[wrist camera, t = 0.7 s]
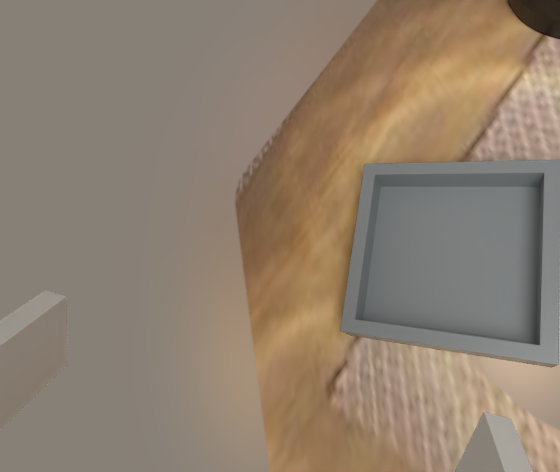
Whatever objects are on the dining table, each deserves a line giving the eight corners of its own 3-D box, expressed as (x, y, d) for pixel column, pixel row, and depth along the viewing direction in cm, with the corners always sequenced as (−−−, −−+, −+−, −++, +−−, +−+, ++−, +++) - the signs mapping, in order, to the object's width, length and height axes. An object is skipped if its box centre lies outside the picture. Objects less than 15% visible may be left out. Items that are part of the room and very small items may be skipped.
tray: (372, 179, 39) (364, 163, 36) (555, 178, 33) (561, 159, 30) (350, 335, 35) (340, 330, 32) (551, 367, 29) (558, 364, 26)
